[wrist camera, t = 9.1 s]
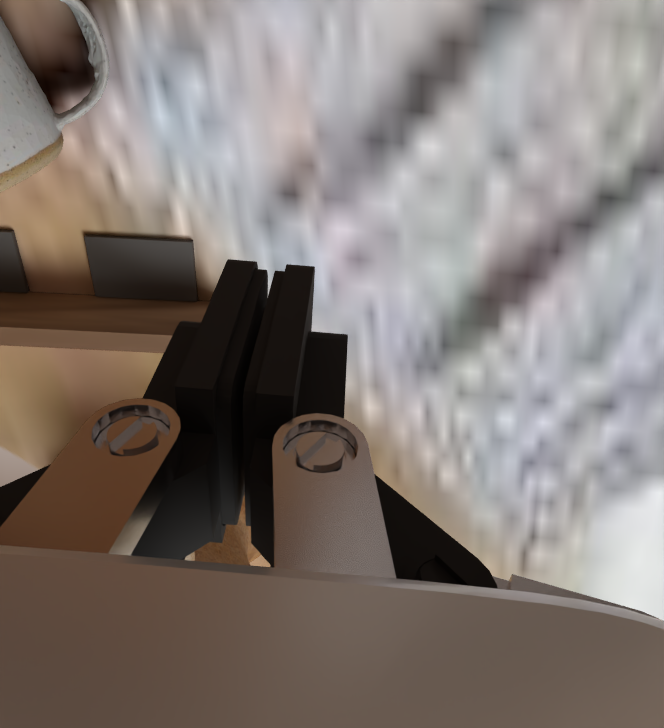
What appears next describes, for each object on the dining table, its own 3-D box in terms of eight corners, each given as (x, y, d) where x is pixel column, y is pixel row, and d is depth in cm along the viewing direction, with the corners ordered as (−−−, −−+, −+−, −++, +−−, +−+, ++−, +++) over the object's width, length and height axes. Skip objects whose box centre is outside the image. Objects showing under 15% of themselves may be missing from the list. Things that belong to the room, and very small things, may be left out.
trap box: (-232, -24, 27) (-311, -20, 23) (218, 7, 27) (203, 16, 24) (-101, 302, 36) (-143, 338, 33) (231, 319, 37) (221, 355, 34)
